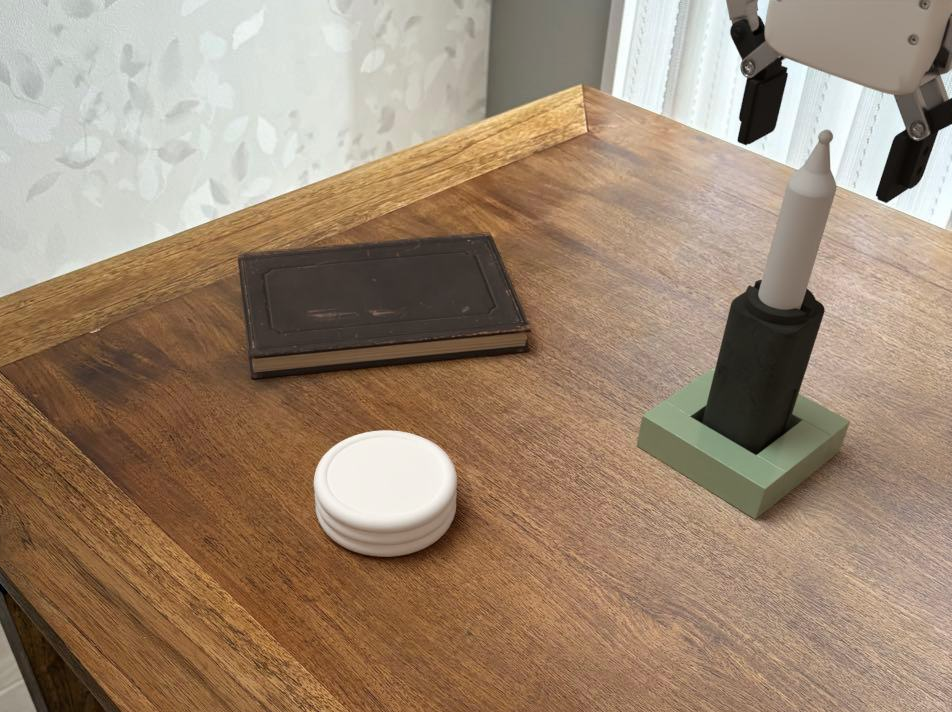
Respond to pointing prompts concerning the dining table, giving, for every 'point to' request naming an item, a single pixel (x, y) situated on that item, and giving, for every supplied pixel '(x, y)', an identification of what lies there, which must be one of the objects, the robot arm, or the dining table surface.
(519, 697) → the dining table surface
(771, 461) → the pad
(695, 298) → the dining table surface
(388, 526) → the white stacked coasters
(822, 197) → the black and white post
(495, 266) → the hardcover book
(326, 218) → the dining table surface
